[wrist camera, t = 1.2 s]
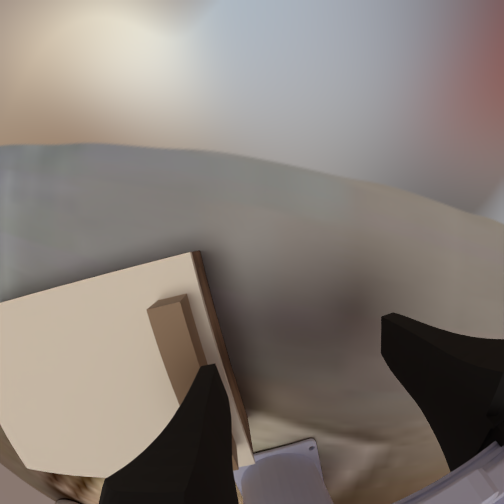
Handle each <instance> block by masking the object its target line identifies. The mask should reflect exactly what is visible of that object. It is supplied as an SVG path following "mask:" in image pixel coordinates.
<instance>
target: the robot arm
mask: <svg viewBox="0 0 504 504" xmlns="http://www.w3.org/2000/svg"><path fill="white" fill-rule="evenodd" d="M381 354H382V356H383V358H384V360H385V361H386V363H387V365H388V366H389V368H390V370H391V371H392V373H393V374H394V375H395V376H396V378H397V379H398V380H399V381H400V383H401V384H402V385H403V386H404V388H405V389H406V390H407V391H408V393H409V394H410V395H411V396H412V398H413V399H414V400H415V402H416V403H417V404H418V406H419V407H420V409H421V410H422V412H423V414H424V415H425V417H426V419H427V421H428V422H429V424H430V426H431V428H432V430H433V432H434V434H435V436H436V438H437V440H438V442H439V444H440V446H441V449H442V451H443V453H444V455H445V458H446V461H447V463H448V466H449V469H450V471H451V472H450V473H449V474H447V475H446V476H444V477H442V478H441V479H439V480H437V481H435V482H434V483H432V484H430V485H428V486H427V487H425V488H423V489H421V490H419V491H417V492H415V493H413V494H411V495H409V496H407V497H405V498H403V499H401V500H399V501H397V502H395V503H392V504H504V339H485V338H476V337H470V336H465V335H460V334H456V333H452V332H448V331H445V330H442V329H438V328H435V327H432V326H430V325H427V324H424V323H421V322H419V321H416V320H413V319H411V318H408V317H405V316H403V315H400V314H397V313H390V314H388V315H385V316H382V317H381ZM311 446H313V447H312V448H310V447H311ZM253 455H254V459H255V464H252V465H248V466H243V467H239V470H234V471H233V463H232V420H231V411H230V404H229V398H228V395H227V393H226V390H225V387H224V385H223V382H222V380H221V377H220V374H219V372H218V369H217V366H216V364H215V363H214V364H209V365H204V366H201V367H200V368H199V370H198V372H197V374H196V377H195V379H194V381H193V383H192V385H191V387H190V389H189V391H188V392H187V394H186V396H185V398H184V400H183V402H182V403H181V405H180V406H179V408H178V410H177V411H176V413H175V414H174V416H173V417H172V419H171V420H170V422H169V423H168V424H167V426H166V427H165V428H164V430H163V431H162V432H161V433H160V434H159V436H158V437H157V438H156V439H155V440H154V441H153V442H152V443H151V444H150V445H149V446H148V447H147V448H146V449H145V450H144V451H143V452H142V453H141V454H139V455H138V456H137V457H136V458H135V459H133V460H132V461H131V462H130V463H128V464H127V465H126V466H124V467H123V468H121V469H120V470H118V471H117V472H115V473H114V474H112V475H111V476H109V477H107V478H106V479H105V481H104V484H103V487H102V491H101V496H100V501H99V504H239V503H238V497H237V492H236V486H235V482H236V484H237V486H238V489H239V491H240V493H241V495H242V497H243V504H333V501H332V499H331V497H330V495H329V493H328V491H327V489H326V486H325V484H324V480H323V475H322V470H321V465H320V459H319V454H318V449H317V444H316V441H315V440H314V439H312V438H311V439H307V440H304V441H300V442H297V443H294V444H290V445H287V446H283V447H279V448H275V449H272V450H268V451H263V452H259V453H255V454H253Z"/></svg>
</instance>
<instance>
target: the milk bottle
mask: <svg viewBox="0 0 504 504" xmlns="http://www.w3.org/2000/svg"><path fill="white" fill-rule="evenodd" d="M55 504H79V503H76V502H74V501H70V500H65V499H64V500H59V501H57V502H56V503H55Z"/></svg>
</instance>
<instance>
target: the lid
mask: <svg viewBox="0 0 504 504" xmlns="http://www.w3.org/2000/svg"><path fill="white" fill-rule="evenodd" d="M214 363H215V364H216V366H217V369H218V372H219V374H220V377H221V380H222V382H223V385H224V387H225V390H226V393H227V395H228V398H229V404H230V411H231V420H232V463H233V471H234V470H239V467H243V466H248V465H252V464H255V459H254V455H253V452H252V450H251V447H250V444H249V441H248V439H247V436H246V433H245V430H244V427H243V424H242V422H241V419H240V416H239V413H238V410H237V407H236V404H235V401H234V398H233V395H232V392H231V389H230V385H229V382H228V379H227V376H226V373H225V370H224V366H223V363H222V360H221V357H220V353H219V350H218V347H217V343H216V340H215V336H214V333H213V330H212V326H211V323H210V319H209V316H208V312H207V308H206V305H205V301H204V297H203V294H202V290H201V286H200V282H199V279H198V275H197V271H196V267H195V263H194V259H193V255H192V252H188V253H184V254H180V255H177V256H173V257H169V258H165V259H161V260H157V261H153V262H149V263H145V264H142V265H138V266H134V267H130V268H126V269H122V270H119V271H115V272H111V273H107V274H103V275H100V276H96V277H92V278H88V279H85V280H81V281H77V282H74V283H70V284H66V285H63V286H59V287H55V288H52V289H48V290H44V291H41V292H37V293H33V294H30V295H26V296H23V297H19V298H16V299H12V300H9V301H5V302H2V303H0V425H1V427H2V428H3V430H4V432H5V434H6V436H7V437H8V439H9V441H10V442H11V444H12V446H13V447H14V449H15V451H16V452H17V454H18V455H19V457H20V458H21V460H22V461H23V463H24V464H25V466H26V467H27V468H28V469H33V470H38V471H44V472H51V473H58V474H66V475H75V476H86V477H103V478H107V477H109V476H111V475H112V474H114V473H115V472H117V471H118V470H120V469H121V468H123V467H124V466H126V465H127V464H128V463H130V462H131V461H132V460H133V459H135V458H136V457H137V456H138V455H139V454H141V453H142V452H143V451H144V450H145V449H146V448H147V447H148V446H149V445H150V444H151V443H152V442H153V441H154V440H155V439H156V438H157V437H158V436H159V434H160V433H161V432H162V431H163V430H164V428H165V427H166V426H167V424H168V423H169V422H170V420H171V419H172V417H173V416H174V414H175V413H176V411H177V410H178V408H179V406H180V405H181V403H182V402H183V400H184V398H185V396H186V394H187V392H188V391H189V389H190V387H191V385H192V383H193V381H194V379H195V377H196V374H197V372H198V370H199V368H200V367H201V366H204V365H209V364H214Z"/></svg>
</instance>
